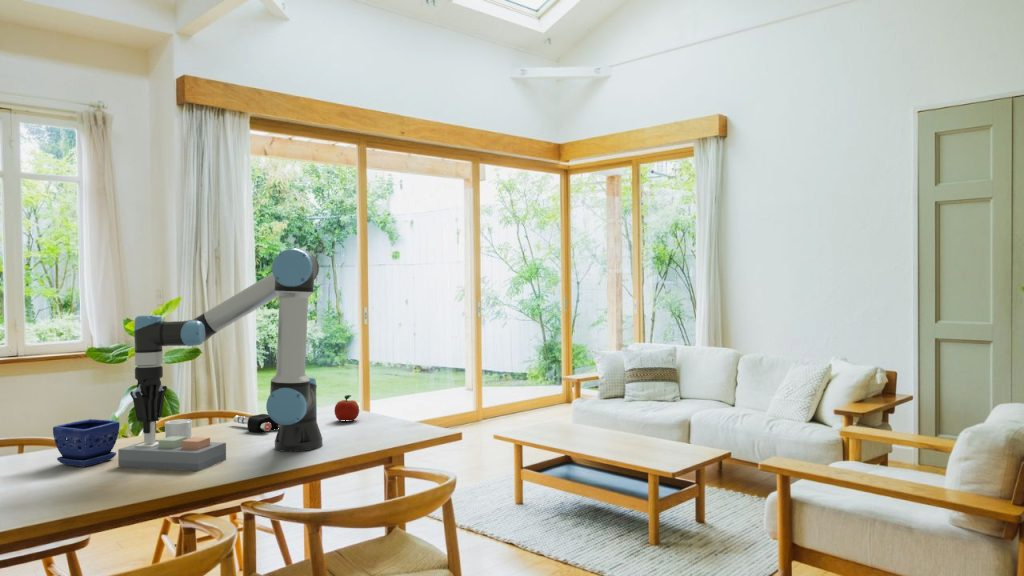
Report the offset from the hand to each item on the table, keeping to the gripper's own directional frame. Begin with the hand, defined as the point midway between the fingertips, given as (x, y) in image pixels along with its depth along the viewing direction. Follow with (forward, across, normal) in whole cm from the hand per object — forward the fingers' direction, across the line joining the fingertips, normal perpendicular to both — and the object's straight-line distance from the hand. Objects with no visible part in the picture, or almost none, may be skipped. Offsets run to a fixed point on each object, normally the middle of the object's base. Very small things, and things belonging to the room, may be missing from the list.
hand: (149, 443), depth 210 cm
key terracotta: (+2, 0, +16) cm, 16 cm away
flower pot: (+6, +3, -19) cm, 21 cm away
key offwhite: (+4, 0, 0) cm, 4 cm away
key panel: (+6, 0, +8) cm, 10 cm away
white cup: (+6, -13, 0) cm, 14 cm away
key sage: (+2, 0, +8) cm, 8 cm away
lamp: (+6, -51, +3) cm, 51 cm away
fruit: (+6, -69, +31) cm, 76 cm away
